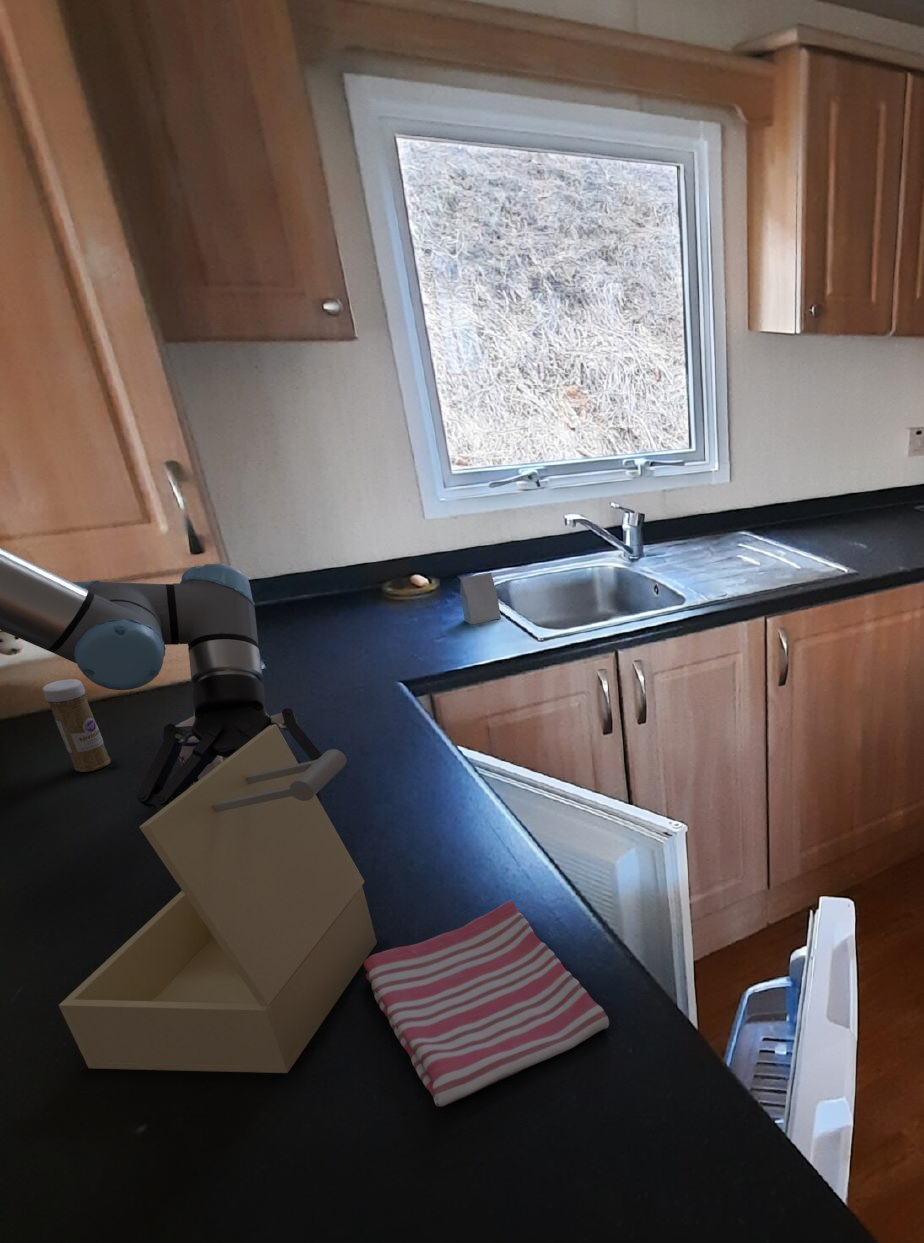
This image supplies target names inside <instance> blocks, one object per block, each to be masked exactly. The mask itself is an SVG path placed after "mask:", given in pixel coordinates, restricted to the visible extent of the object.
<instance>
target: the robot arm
mask: <svg viewBox="0 0 924 1243" xmlns="http://www.w3.org/2000/svg"><path fill="white" fill-rule="evenodd" d="M255 609H256V608H255V601H254V599H253V594H252V590H251V584H250V581H249V579H248V577H247V576H246V575H245V574H244V572H242V571H240V570H238V569H236V568H234V567H231V566H229V565H223V564H217V563H208V564H207V563H206V564H204V566H199V565H196V566H192V567H190V568H187V570H185V571H184V572H183V573H182V575H181V580H180V581H179V583H147V582H146V583H143V582H118V581H117V582H115V581H114V582H113V581H102V580H101V581H100V580H91V581H70V580H68V579H66V578H65V577H62V576H61V575H58V574H56V573H54V572H52V571H50V570H48V569H46V568H44V567H42V566H40V565H38V564H35V563H34V562H32V561H30V560H27V559H26V558H23V557H21V556H19V555H17V554H16V553H13V552H11V551H9V550H7V549H5V548H3V547H1V546H0V631H2V632H4V633H6V634H8V635H11V636H13V637H15V638H17V639H20V640H22V641H25V642H26V643H29V644H32V645H34V646H36V647H38V648H40V649H43V650H45V651H47V652H49V653H52V654H54V655H57V656H59V657H61V658H63V659H65V660H68V661H69V662H72V663H73V664H77V668H78V670H80V671H81V673H82V674H83V676H84V677H86V678H87V679H88V680H89V681H91V682H92V683H93V684H95V685H97V686H99V687H102V688H105V689H108V690H114V691H130V690H135V689H138V688H141V687H143V686H146V685H148V684H149V683H151V682H152V681H153V680H154V679H155V678H156V677H157V676H158V675H159V674H160V672H161V670H162V668H163V664H164V659H165V656H166V650H167V648H166V646H170V645H171V646H177V645H187V650H188V651H187V652H188V660H189V672H190V681H191V684H192V685H193V686H192V688H191V692H192V700H193V701H192V702H193V713H194V712H195V721H194V724H193V725H192V726H185V727H176V725H175V724H174V723H167V724H166V725H164V728H163V741H162V744H161V746H160V747H159V749H158V752H157V754H156V756H155V757H154V759H153V762H152V763H151V765H150V768H149V770H148V772H147V774H146V775H145V777H144V780H143V782H142V783H141V786H140V788H139V789H138V792H137V793H136V796H135V798H136V800H137V801H138V802H139V803H141V804H142V805H143V806H145V807H146V808H152V807H154V808H156V813H158V812H159V811H160V810H162V809H163V808H164V807H165V806H167V805H168V804H169V803H171V802H172V801H173V800H174V799H176V798H177V797H178V796H179V795H181V794H182V793H183V792H185V791H186V790H187V789H188V788H189V787H190V786H191V785H192V783H193V782H194V781H195V780H196V778H197V777H198V776H199V775H200V774H201V772H202V771H203V770H204V769H205V767H206V766H207V765H208V764H210V763H212V762H213V761H214V759H215V758H216V757H217V756H223V757H224V758H225V757H230V756H231V755H232V754H233V753H235V752H236V751H237V750H239V749H240V748H241V747H242V746H244V745H245V744H246V743H248V742H249V741H250V740H251V739H253V738H254V737H255V736H257V735H258V734H259V733H260V732H262V731H263V730H264V729H266V728H267V727H268V726H270V725H274V724H276V725H277V727H278V728H279V729H280V730H282V731H288V732H289V733H290V735H291V736H292V738H293V739H294V741H295V742H296V743H297V744H298V745H299V747H300V748H301V749H302V750H303V752H304V753H305V754H306V755H307V757H308V758H309V759H310V761H313V760H318V759H319V758H320V757H321V756H322V755H323V753H322V752H320V751H319V749H318V748H317V747H316V746H315V745H314V743H313V742H312V741H311V739H310V738H309V737H308V735H307V734H306V733H305V732H304V731H303V729H302V728H301V727H300V724H299V719H298V717H297V716H296V713H295V712H294V710H293V709H292V708H290V707H286V708H284V709H283V710H282V711H281V712H280V713H276V714H271V715H269V713H268V708H267V701H266V693H265V685H264V683H263V678H264V675H263V668H262V661H261V653H260V644H259V637H258V628H257V618H256V610H255ZM192 736H195V737H196V738H197V739H198V740H199V741H200V742H199V743H198V744H197V745H196V746H195V748H194V749H193V752H192V754H191V755H190V757H189V758H188V759H187V760H186V761H185V763H184V764H183V765H182V766H181V765H180V767H179V768H178V769H177V771H176V772H175V773H174V774H173V776H172V777H171V778H170V779H169V777H170V775H171V773H172V771H173V769H174V768H175V765H176V763H177V760H179V754H180V752H181V749H182V745H185V744H186V743H187V742H188V739H189V738H190V737H192ZM295 759H296V760H297V762H298V764H299V763H302V761H300V760H299V759H297V758H296V757H295ZM168 779H169V780H168ZM167 781H168V782H167ZM321 794H322V793H321V790H320V791H319V792H318V793H317V794H316V796H317V798H318V800H319V801H320V803H321V805H322V806H323V802H322V795H321Z"/></svg>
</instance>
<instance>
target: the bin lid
mask: <svg viewBox="0 0 924 1243" xmlns="http://www.w3.org/2000/svg"><path fill="white" fill-rule="evenodd" d="M295 758H296V757H295V755H294V753H293V751H292V750H291V748H290V746H289V744H288V742H287V741H286V739H285V737H284V735H283V734H282V732H281V729H280V727H279V726H278V725H276V724H274V725H270V726H268V727H267V728H266V729H264V730H263V731H262V732H260V733H259V734H258V735H257V736H255V737H254V738H253V739H251V740H250V741H249V742H248V743H246V744H245V745H244V746H242V747H241V748H240V749H239V750H237V751H236V752H235V753H233V754H232V755H231V756H230V757H228V758H227V759H226V760H224V761H223V762H222V763H221V764H219V765H218V766H217V767H215V768H214V769H213V770H212V771H210V772H209V773H208V774H206V775H205V776H204V777H203V778H201V779H200V780H199V781H197V782H196V783H195V784H194V785H192V786H191V787H190V788H188V789H187V790H186V791H185V792H183V793H182V794H181V795H179V796H178V797H177V798H176V799H174V800H173V801H172V802H171V803H169V804H168V805H167V806H165V807H164V808H163V809H162V810H160V811H159V812H158V813H157V812H156V813H155V814H154V815H152V816H151V817H150V818H149V819H147V820H146V821H145V822H143V823H142V824H141V825H140V826H139V829H140V831H141V832H142V834H143V835H144V836H145V839H147V841H148V843H149V844H150V845H151V848H153V850H154V851H155V853H156V854H157V856H158V858H159V859H160V860H161V862H162V863H163V864H164V867H165V868H166V869H167V871H168V872H169V873H170V875H171V877H172V878H173V879H174V881H175V882H176V884H177V885H178V887H179V888H180V890H181V891H183V892H184V894H185V895H186V897H187V898H188V900H189V901H190V903H191V904H192V906H193V907H194V909H195V910H196V912H197V913H198V914H199V916H200V917H201V919H202V920H203V922H204V923H205V925H206V926H207V928H208V929H209V931H210V932H211V934H212V935H213V937H214V938H215V940H216V941H217V942H218V944H219V945H220V947H221V948H222V950H223V951H224V953H225V954H226V956H227V957H228V959H229V960H230V962H231V963H232V965H233V966H234V967H235V969H236V970H237V972H238V973H239V975H240V976H241V978H242V979H243V981H244V982H245V984H246V985H247V987H248V988H249V990H250V991H251V993H252V994H253V995H254V997H255V998H256V1000H257V1001H258V1003H259V1004H260V1006H261V1007H262V1006H268V1005H269V1004H270V1003H271V1002H272V1000H273V999H274V998H275V997H276V995H277V994H278V993H279V991H280V990H281V989H282V988H283V986H284V985H285V984H286V982H287V981H288V980H289V979H290V977H291V976H292V975H293V973H294V972H295V971H296V970H297V968H298V967H299V966H300V964H301V963H302V962H303V961H304V959H305V958H306V957H307V955H308V954H309V953H310V952H311V950H312V949H313V948H314V946H315V945H316V944H317V943H318V941H319V940H320V939H321V937H322V936H323V935H324V934H325V932H326V931H327V930H328V929H329V927H330V926H331V925H332V923H333V922H334V921H335V920H336V918H337V917H338V916H339V914H340V913H341V912H342V911H343V909H344V908H345V907H346V905H347V904H348V903H349V902H350V900H351V899H352V898H353V896H354V895H355V894H356V893H357V891H358V890H359V889H360V887H361V886H362V887H363V885H364V883H365V880H364V878H363V876H362V874H361V873H360V871H359V868H358V867H357V865H356V864H355V862H354V860H353V858H352V857H351V855H350V852H349V851H348V849H347V848H346V846H345V844H344V842H343V841H342V838H341V837H340V835H339V833H338V832H337V830H336V828H335V826H334V825H333V822H332V821H331V819H330V817H329V815H328V814H327V812H326V811H325V808H324V807H323V804H322V805H321V803H320V801H319V800H318V798H317V796H316V794H317V793H318V792H319V791H320V792H321V790H322V789H323V788H324V787H325V786H326V785H327V784H328V783H329V782H330V781H331V780H332V779H333V778H334V777H335V776H336V775H337V774H338V773H339V772H340V771H342V769H343V768H344V767H346V764H347V761H348V760H347V757H346V755H345V753H344V752H342V751H340V750H339V749H335V748H330V749H327V750H326V751H325V752H324V753H322V756H321V757H320V758H319V759H318V760H313V761H312V760H309V761H305V762H301V763H299V764H298V762H297V760H298V759H297V758H296V759H297V760H296V759H295Z"/></svg>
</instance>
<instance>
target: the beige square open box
mask: <svg viewBox="0 0 924 1243" xmlns="http://www.w3.org/2000/svg"><path fill="white" fill-rule="evenodd" d="M368 906H369V905H368V902H367V899H366V894H365V890H364V886H363V885H362V886H361V887H360V889H359V890H358V891H357V893H356V894H355V895H354V896H353V898H352V899H351V900H350V902H349V903H348V904H347V905H346V907H345V908H344V909H343V911H342V912H341V913H340V914H339V916H338V917H337V918H336V920H335V921H334V922H333V923H332V925H331V926H330V927H329V929H328V930H327V931H326V932H325V934H324V935H323V936H322V937H321V939H320V940H319V941H318V943H317V944H316V945H315V946H314V948H313V949H312V950H311V952H310V953H309V954H308V955H307V957H306V958H305V959H304V961H303V962H302V963H301V964H300V966H299V967H298V968H297V970H296V971H295V972H294V973H293V975H292V976H291V977H290V979H289V980H288V981H287V982H286V984H285V985H284V986H283V988H282V989H281V990H280V991H279V993H278V994H277V995H276V997H275V998H274V999H273V1000H272V1002H271V1003H270V1004H269V1005H268V1006H262V1007H261V1006H260V1004H259V1003H258V1001H257V1000H256V998H255V997H254V995H253V994H252V993H251V991H250V990H249V988H248V987H247V985H246V984H245V982H244V981H243V979H242V978H241V976H240V975H239V973H238V972H237V970H236V969H235V967H234V966H233V965H232V963H231V962H230V960H229V959H228V957H227V956H226V954H225V953H224V951H223V950H222V948H221V947H220V945H219V944H218V942H217V941H216V940H215V938H214V937H213V935H212V934H211V932H210V931H209V929H208V928H207V926H206V925H205V923H204V922H203V920H202V919H201V917H200V916H199V914H198V913H197V912H196V910H195V909H194V907H193V906H192V904H191V903H190V901H189V900H188V898H187V897H186V895H185V894H184V892H183V891H182V890H180V891H179V892H178V893H177V894H176V895H175V896H174V897H173V898H172V899H171V900H170V901H169V902H168V903H167V904H165V905H164V906H163V907H162V908H161V909H160V910H159V911H157V913H156V914H155V915H154V916H153V917H152V918H150V919H149V920H148V921H147V922H145V924H144V925H143V926H142V927H141V928H140V929H139V930H137V931H136V932H135V933H134V934H133V935H132V936H131V937H130V938H128V940H127V941H125V943H123V945H122V946H120V947H119V948H118V949H117V950H116V951H115V952H114V953H113V954H112V955H111V956H110V957H108V958H107V959H106V960H105V961H104V962H103V963H102V964H101V965H100V966H99V967H98V968H96V970H94V971H93V972H92V973H91V974H90V975H89V976H88V977H87V978H86V979H85V980H84V981H83V982H81V984H79V985H78V986H77V987H76V988H75V989H74V990H73V991H72V992H70V994H69V995H68V996H66V998H65V999H63V1000H62V1001H61V1002H60V1003H59V1004H58V1008H59V1009H60V1012H61V1013H62V1016H63V1017H64V1018H63V1019H64V1021H65V1022H66V1024H67V1026H68V1028H69V1031H70V1032H71V1034H72V1036H73V1039H74V1041H75V1043H76V1045H77V1048H78V1049H79V1051H80V1053H81V1056H82V1057H83V1060H84V1062H85V1064H86V1066H87V1068H88V1069H94V1070H95V1069H97V1070H98V1069H99V1070H100V1069H101V1070H103V1069H104V1070H105V1069H106V1070H137V1071H139V1070H143V1071H144V1070H145V1071H177V1072H178V1071H179V1072H182V1071H183V1072H185V1071H186V1072H222V1073H223V1072H225V1073H226V1072H227V1073H261V1074H262V1073H264V1074H265V1073H267V1074H269V1073H270V1074H288V1073H289V1072H290V1070H291V1069H292V1067H293V1066H294V1064H295V1063H296V1062H297V1060H298V1059H299V1058H300V1056H301V1054H302V1053H303V1051H304V1050H305V1049H306V1047H307V1046H308V1044H309V1043H310V1041H311V1040H312V1038H313V1037H314V1036H315V1034H316V1032H318V1030H319V1028H320V1027H321V1025H322V1024H323V1022H324V1021H325V1020H326V1017H328V1015H329V1014H330V1013H331V1010H332V1009H333V1008H334V1006H335V1005H336V1003H337V1002H338V1001H339V999H340V998H341V996H342V995H343V993H344V992H345V990H346V989H347V988H348V986H349V985H350V984H351V981H352V980H353V979H354V977H355V976H356V974H357V973H358V972H359V970H360V968H361V967H362V965H364V964H363V963H364V961H365V960H367V959H368V958H369V955H370V954H371V952H372V951H373V949H374V948H375V946H376V945H377V943H378V941H377V938H376V933H375V930H374V926H373V922H372V918H371V915H370V910H369V907H368Z"/></svg>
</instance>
